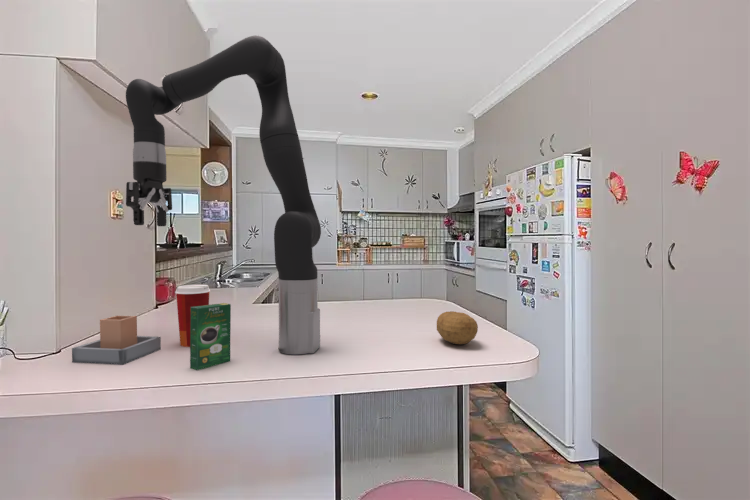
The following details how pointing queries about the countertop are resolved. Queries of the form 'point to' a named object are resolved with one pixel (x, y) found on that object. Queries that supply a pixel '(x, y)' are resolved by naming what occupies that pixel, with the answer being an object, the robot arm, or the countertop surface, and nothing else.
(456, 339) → the potato
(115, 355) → the tray
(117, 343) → the light brown open box
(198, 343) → the coffee box
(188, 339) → the coffee cup
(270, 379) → the countertop surface
